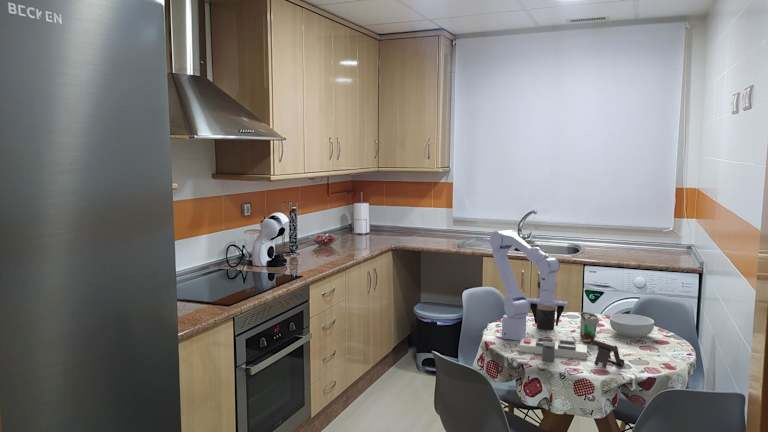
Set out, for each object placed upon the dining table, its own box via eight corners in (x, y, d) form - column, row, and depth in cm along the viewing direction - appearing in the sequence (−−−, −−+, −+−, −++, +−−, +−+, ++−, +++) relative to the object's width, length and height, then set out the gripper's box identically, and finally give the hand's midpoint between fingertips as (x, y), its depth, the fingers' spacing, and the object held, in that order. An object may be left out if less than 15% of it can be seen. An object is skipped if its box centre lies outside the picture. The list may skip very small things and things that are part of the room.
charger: (542, 361, 214) (542, 345, 213) (543, 357, 218) (543, 341, 218) (553, 363, 212) (554, 346, 212) (554, 358, 217) (555, 342, 216)
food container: (600, 345, 232) (601, 320, 231) (583, 344, 233) (584, 319, 232) (595, 336, 244) (596, 312, 243) (579, 335, 245) (580, 311, 244)
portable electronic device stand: (624, 366, 210) (626, 343, 209) (610, 370, 206) (611, 346, 205) (603, 358, 217) (604, 336, 217) (589, 362, 213) (590, 340, 212)
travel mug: (556, 330, 250) (558, 284, 248) (538, 330, 250) (540, 283, 248) (551, 325, 258) (553, 280, 256) (534, 325, 258) (536, 279, 256)
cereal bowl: (633, 328, 255) (634, 312, 255) (662, 339, 240) (663, 322, 239) (600, 331, 250) (601, 315, 249) (628, 343, 234) (629, 326, 234)
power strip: (519, 351, 224) (519, 341, 224) (521, 344, 233) (522, 334, 232) (586, 359, 216) (586, 349, 216) (586, 351, 225) (587, 341, 224)
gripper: (527, 289, 224) (525, 324, 226) (567, 293, 220) (565, 329, 221) (529, 285, 231) (527, 320, 232) (568, 289, 226) (566, 323, 228)
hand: (546, 324), depth 227 cm, fingers open, 7 cm apart
